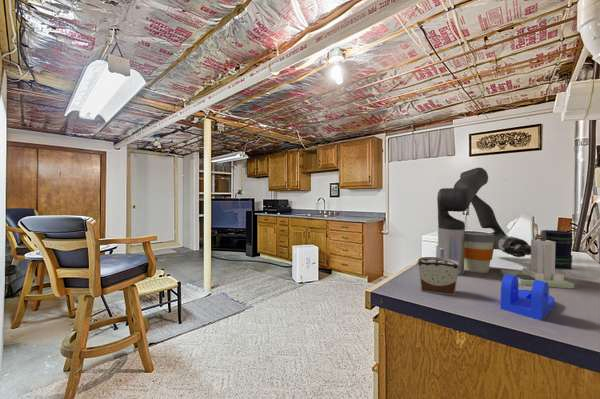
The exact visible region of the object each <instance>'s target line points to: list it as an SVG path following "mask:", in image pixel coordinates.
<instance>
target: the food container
mask: <svg viewBox="0 0 600 399" xmlns="http://www.w3.org/2000/svg"><path fill="white" fill-rule="evenodd" d="M416 266H418V270H419V272H418V273H419V279H420V280H419V281H420V289H421V292H427V293H433V294H443V295H452V296H455V295H456V288H457V281H458V269H460V270H461V268H460V265H459V263H458V262H457V261H454V260H450V259H446V258H439V257H436V256H424V257H419V258H418V260H417V263H416Z"/></svg>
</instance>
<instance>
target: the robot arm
mask: <svg viewBox="0 0 600 399" xmlns="http://www.w3.org/2000/svg"><path fill="white" fill-rule="evenodd" d="M459 177H460V178H459V179H458V180H457V181H456V182H455V184H454V185H453V188H451V187H449V188H448V187H443V188H440V189H439V190H438V192H437V200H436V202H437V227H438V228H437V245H436V246H435V247H436V248H435V252H436V253H435V254H436V255H435V257H439V258H446V259H450V260H454V261H457V262H458V263H459V265H460V268H461V270H460V269H458V275H459V276H460V275H463V274H464V275H465V269H464V251H465V231H466V224H465V221H463V220H461V219H458V218H456V217H454V216H452V215H451V214H450V213H449V212H457V213H458V212H459V213H460V212H461V213H462V212H465V211H467V210H468V209H469V207H470V205H472V206H473V209H474V211H475V214H476V216H477V219H478V222H479V226H480V227H481V228H482V229H491V230H493V232H491V233H492V234H494V239H495V242H494V243H493V248H494V250H498V251H499V250H500V251H502V253H505V254H506V255H507V254H508V255H511V256H513V257H516V258H523V257H525V256H531V244H529V243H528V242H527V241H526V240H525V239H521V238H519V237H514V236H509V235H507V233H505V231H504V230H503V229H502V227H501V225H500V224H499V222H498V220H497V217H496V215H495V211H494V209H493V208H492V207H491V206H490V205H489V204H488V203H487V202H486V201H485V200H484V199H481V198H480V196H478V195H477V194H478V193H479V191H480V189H481V188H482V187H483V186H486V184H487V183H488V181H489V174H488V172H487V170H486V169H484V167H475V168H472V169H470V170H469V169H468V170H466V171H464V172H463V171H462V172H461V173H460V176H459ZM458 275H457V276H458Z"/></svg>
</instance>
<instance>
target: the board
mask: <svg viewBox="0 0 600 399" xmlns="http://www.w3.org/2000/svg"><path fill="white" fill-rule="evenodd" d="M500 271H501V272H500V273H501V275H503V276H504V275H505V274H510V275H515V276H517V278H518V285H521V286H531V287H532V286H533V282H534V281H535V280H539V281H544V282H547V283H548V286H549V288H560V289H562V288H563V289H572V290H573V289H575V283H572V282H570V281H567V280H566V279H565V278H564V277H565V276H564V274H560V273H558V272H556V271H555V274H552V279H551V280H546V279H544V274H542V273H535V272H533V271H531V267H528V268H527V267H523V268H522V270H511V269H510V270H509V269H501V270H500Z"/></svg>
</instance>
